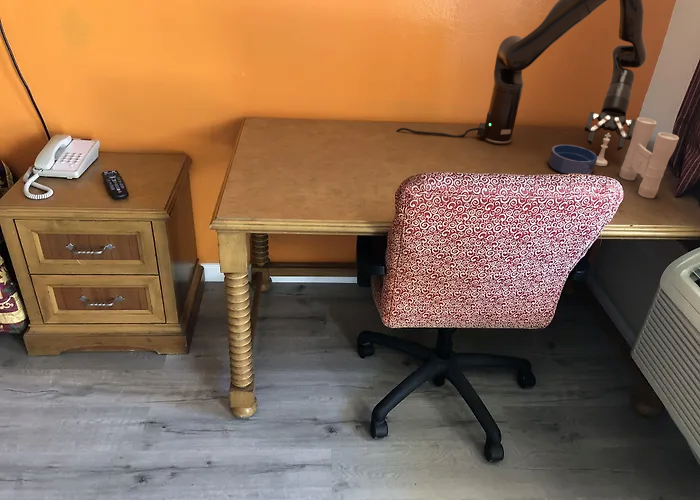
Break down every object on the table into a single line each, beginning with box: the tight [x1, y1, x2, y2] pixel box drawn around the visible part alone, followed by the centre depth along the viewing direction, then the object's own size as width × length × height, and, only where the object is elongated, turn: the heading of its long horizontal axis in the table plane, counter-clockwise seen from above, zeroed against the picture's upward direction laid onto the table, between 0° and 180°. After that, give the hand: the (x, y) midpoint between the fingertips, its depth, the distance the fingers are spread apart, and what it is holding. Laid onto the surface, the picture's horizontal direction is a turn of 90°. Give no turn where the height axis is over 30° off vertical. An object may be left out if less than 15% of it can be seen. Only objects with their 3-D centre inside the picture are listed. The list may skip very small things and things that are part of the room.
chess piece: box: [595, 132, 612, 167], centre depth 190 cm, size 5×5×10 cm
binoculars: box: [618, 116, 680, 199], centre depth 175 cm, size 17×5×18 cm, turn 5°
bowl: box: [548, 144, 598, 175], centre depth 186 cm, size 13×13×5 cm
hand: (604, 146), depth 190 cm, fingers open, 8 cm apart
